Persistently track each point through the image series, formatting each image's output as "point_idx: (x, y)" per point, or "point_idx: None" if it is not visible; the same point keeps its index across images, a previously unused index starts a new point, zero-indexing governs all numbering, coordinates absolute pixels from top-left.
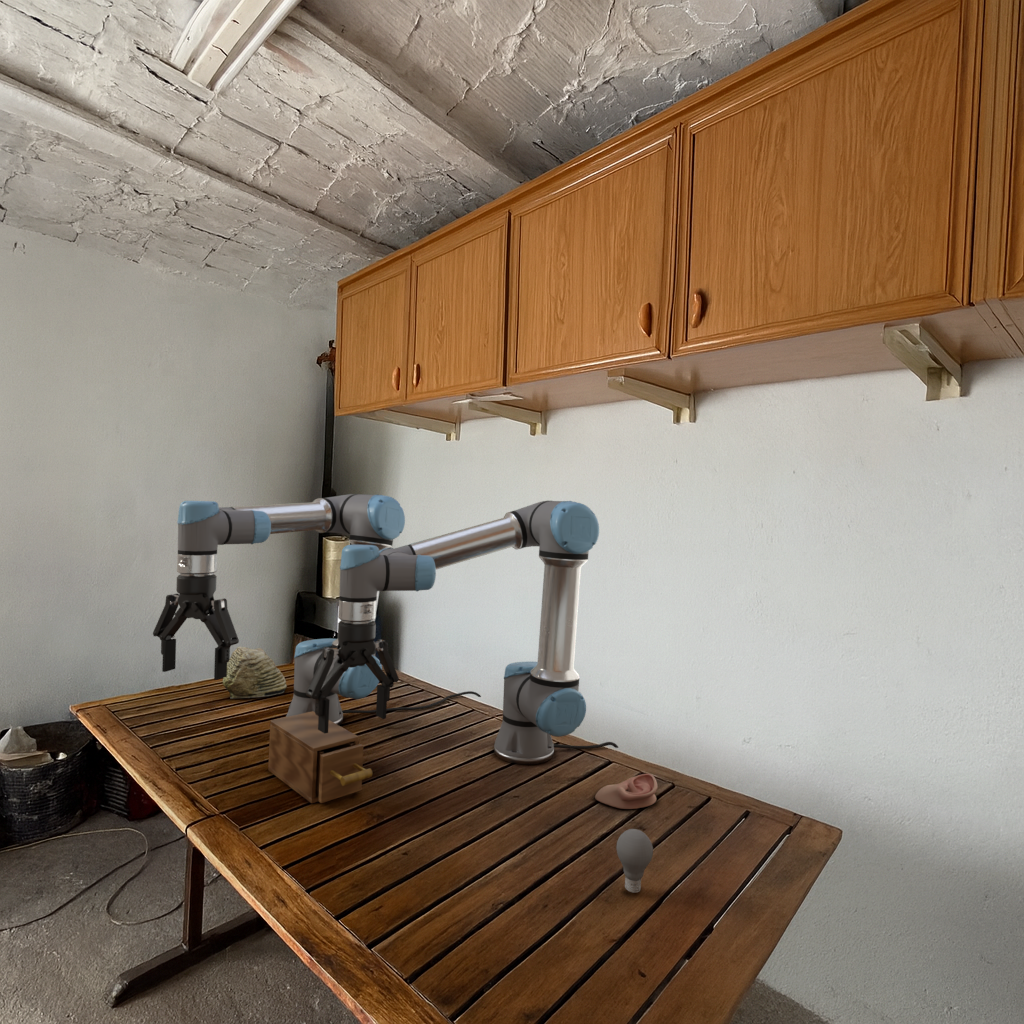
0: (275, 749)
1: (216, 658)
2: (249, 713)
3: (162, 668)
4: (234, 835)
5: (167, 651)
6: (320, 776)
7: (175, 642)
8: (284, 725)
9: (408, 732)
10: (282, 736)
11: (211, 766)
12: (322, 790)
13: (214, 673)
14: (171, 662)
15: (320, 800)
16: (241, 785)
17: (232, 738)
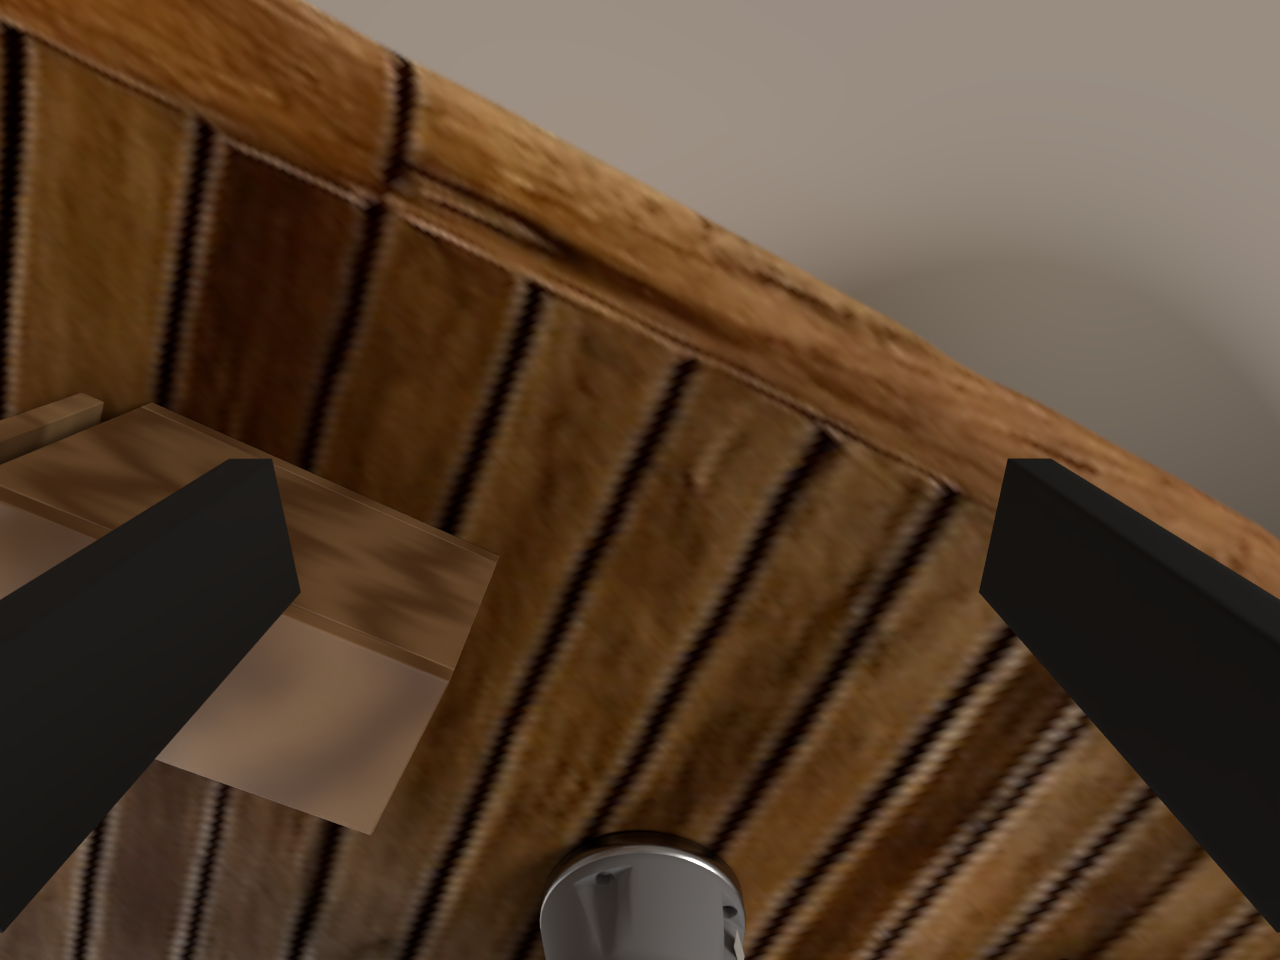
0: (418, 585)
1: (37, 590)
2: (917, 890)
3: (1069, 471)
4: (183, 72)
5: (1178, 621)
6: (11, 429)
7: (1222, 856)
8: (335, 658)
9: (303, 936)
10: (325, 602)
11: (720, 506)
12: (40, 408)
13: (227, 484)
14: (1036, 586)
15: (82, 397)
16: (493, 422)
17: (823, 715)
